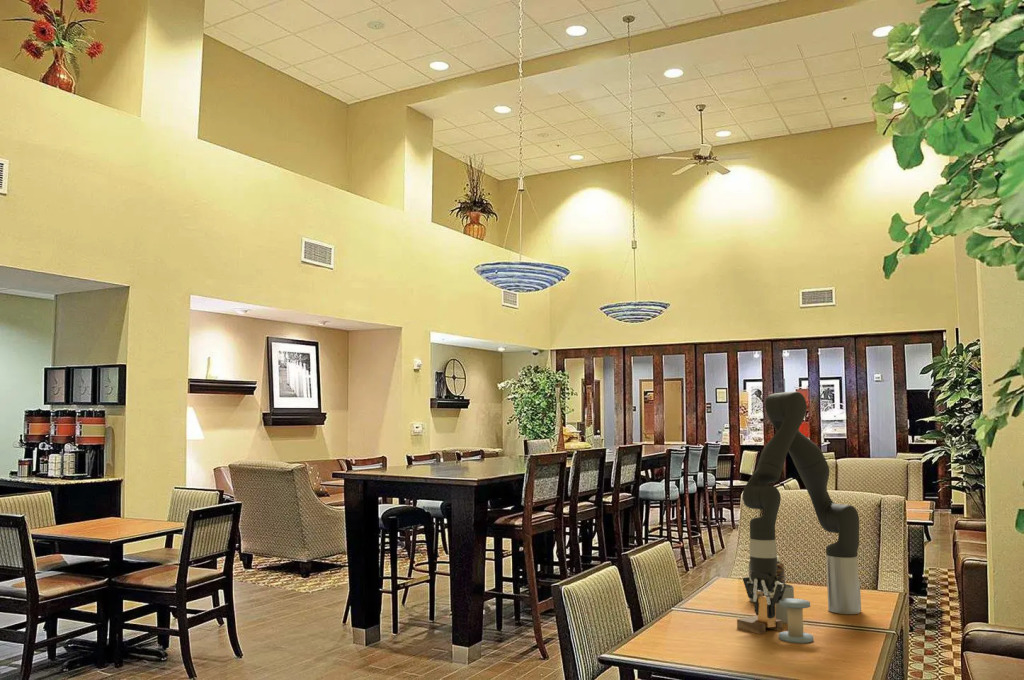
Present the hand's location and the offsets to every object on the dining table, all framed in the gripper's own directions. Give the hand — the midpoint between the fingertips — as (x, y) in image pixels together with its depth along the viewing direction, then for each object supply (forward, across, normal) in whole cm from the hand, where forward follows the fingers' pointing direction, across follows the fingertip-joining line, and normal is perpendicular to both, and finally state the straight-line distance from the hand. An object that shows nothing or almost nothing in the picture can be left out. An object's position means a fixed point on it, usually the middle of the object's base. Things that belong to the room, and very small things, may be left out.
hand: (764, 616), depth 234 cm
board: (+4, +2, 0) cm, 4 cm away
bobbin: (+4, -11, +1) cm, 12 cm away
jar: (+4, +25, -32) cm, 41 cm away
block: (+3, 0, -1) cm, 3 cm away
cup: (+4, +6, -14) cm, 16 cm away
